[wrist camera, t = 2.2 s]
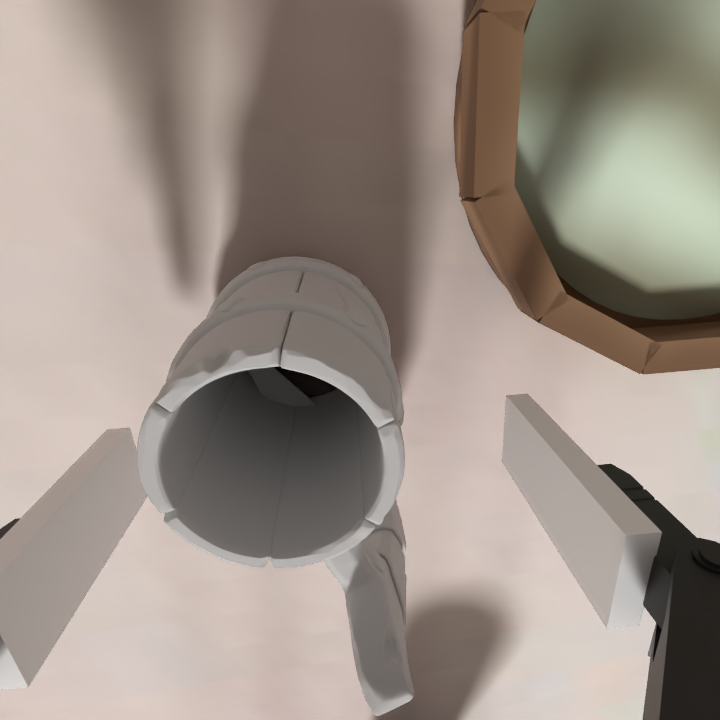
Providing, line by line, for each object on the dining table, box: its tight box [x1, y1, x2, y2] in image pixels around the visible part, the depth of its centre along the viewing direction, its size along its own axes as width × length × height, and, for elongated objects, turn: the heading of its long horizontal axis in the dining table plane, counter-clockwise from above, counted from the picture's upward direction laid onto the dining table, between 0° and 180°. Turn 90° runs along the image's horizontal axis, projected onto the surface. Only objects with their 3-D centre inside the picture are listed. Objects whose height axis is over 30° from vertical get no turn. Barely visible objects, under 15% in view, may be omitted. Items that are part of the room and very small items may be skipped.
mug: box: [137, 256, 414, 716], centre depth 14 cm, size 8×12×12 cm, turn 27°
